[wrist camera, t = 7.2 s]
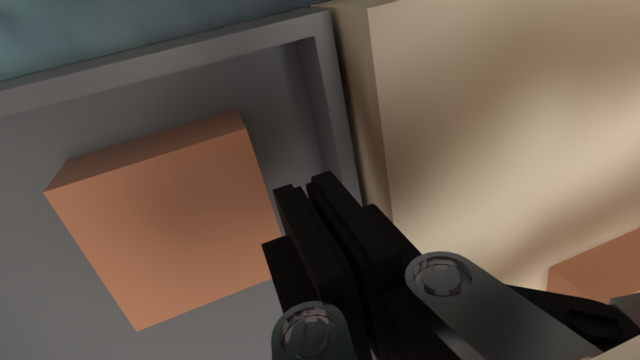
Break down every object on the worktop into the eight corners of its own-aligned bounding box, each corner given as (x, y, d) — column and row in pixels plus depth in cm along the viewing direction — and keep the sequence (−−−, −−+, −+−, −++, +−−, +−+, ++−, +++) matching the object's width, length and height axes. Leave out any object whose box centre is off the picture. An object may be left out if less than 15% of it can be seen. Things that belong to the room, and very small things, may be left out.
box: (-230, 137, 11) (-361, 180, 8) (301, 7, 14) (329, 9, 11) (101, 477, 20) (89, 547, 18) (371, 357, 23) (395, 402, 21)
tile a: (246, 128, 12) (236, 108, 14) (42, 192, 11) (65, 160, 13) (292, 270, 15) (278, 235, 17) (136, 331, 14) (142, 286, 16)
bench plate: (309, 5, 14) (367, 8, 9) (648, -77, 17) (807, -103, 12) (376, 355, 23) (420, 435, 19) (584, 263, 26) (662, 314, 22)
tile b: (549, 267, 17) (604, 307, 14) (654, 221, 18) (719, 252, 16) (538, 354, 19) (582, 398, 17) (629, 310, 21) (681, 346, 18)
